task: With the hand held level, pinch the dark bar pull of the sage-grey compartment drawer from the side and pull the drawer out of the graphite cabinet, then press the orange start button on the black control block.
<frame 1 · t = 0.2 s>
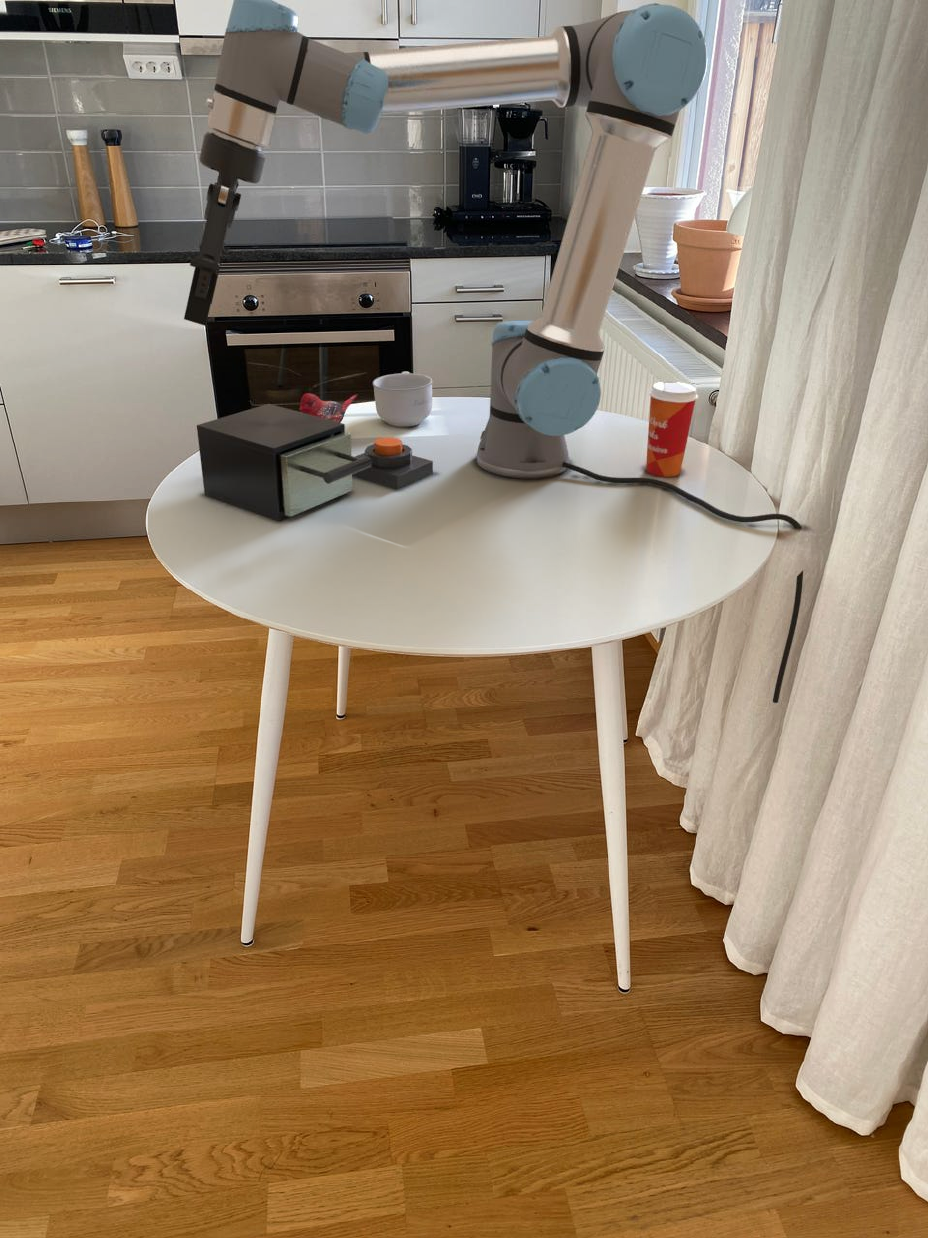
hand: (198, 311, 123), 28 cm above the table, tool tilted 20°, fingers open, 13 cm apart
cabinet: (276, 493, 142), on the table
paper cup: (663, 472, 155), on the table
start button: (388, 446, 148), point 4 cm above the table, slide at 0.1 cm
drawer: (299, 467, 136), point 5 cm above the table, slide at 0.5 cm
decorative bird figurine: (331, 442, 164), on the table
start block: (388, 473, 150), on the table
teacup: (405, 420, 176), on the table
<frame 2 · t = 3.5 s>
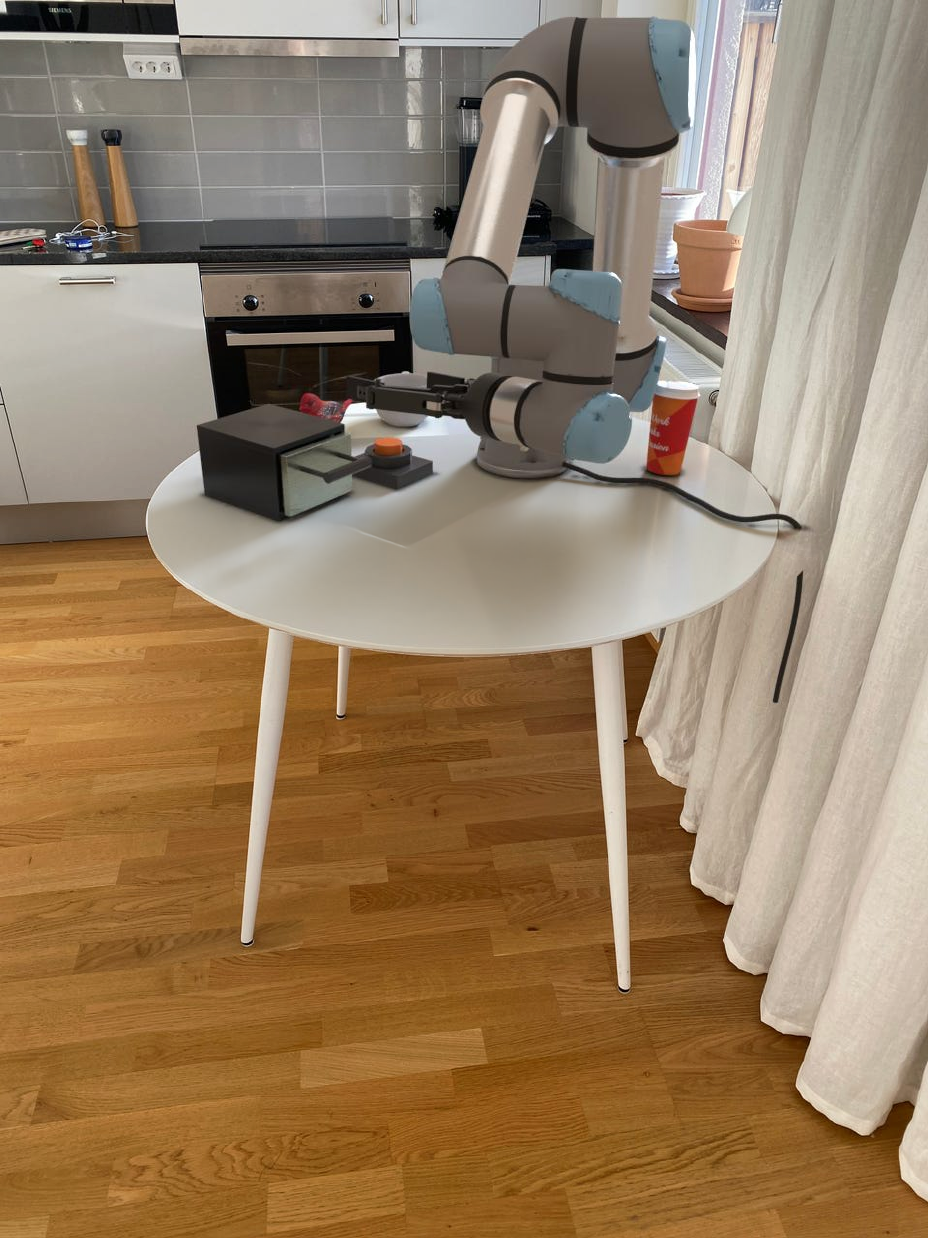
hand: (390, 384, 122), 20 cm above the table, tool horizontal, fingers open, 13 cm apart
nothing on the table moved.
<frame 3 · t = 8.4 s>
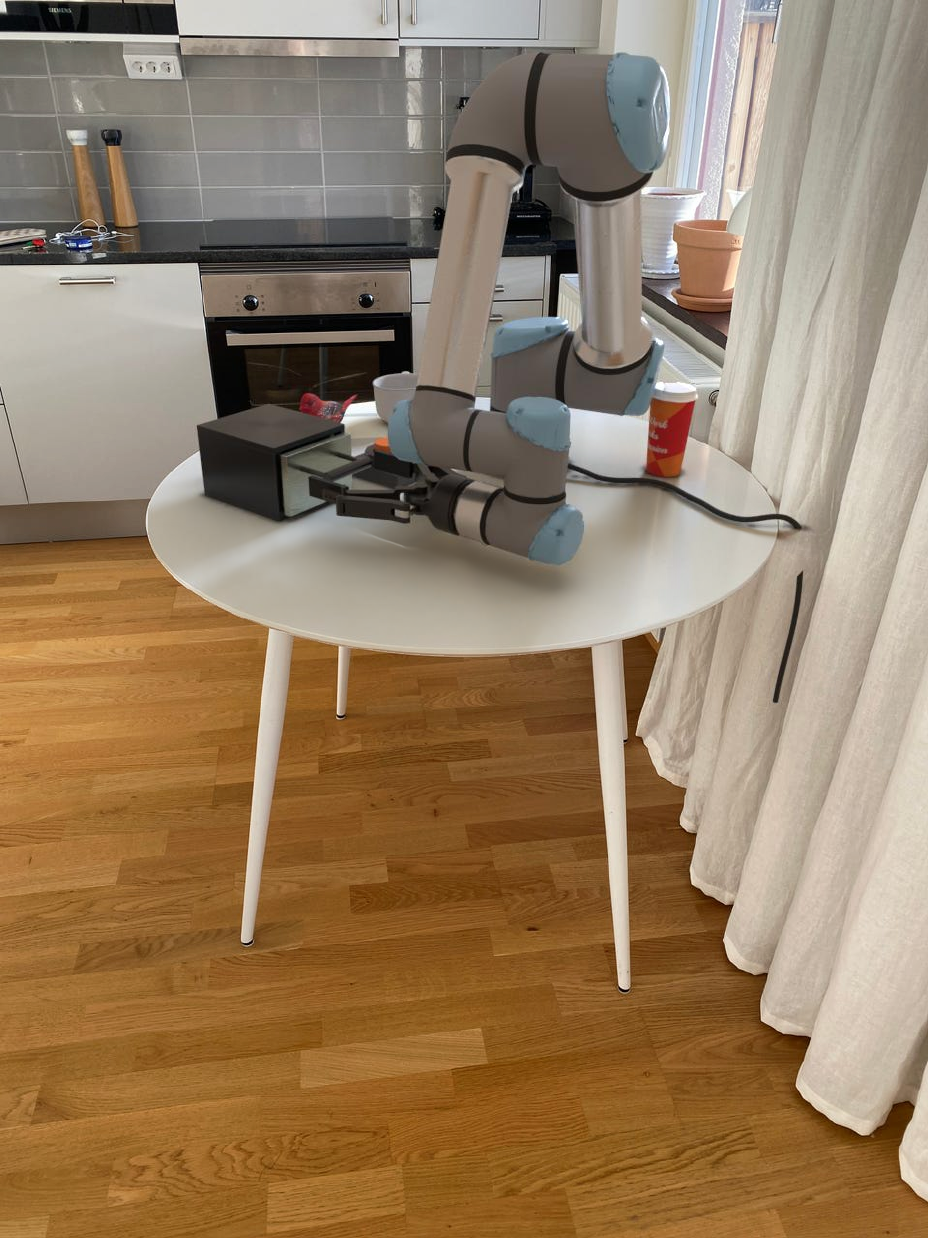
hand: (344, 471, 131), 7 cm above the table, tool horizontal, fingers open, 13 cm apart
nothing on the table moved.
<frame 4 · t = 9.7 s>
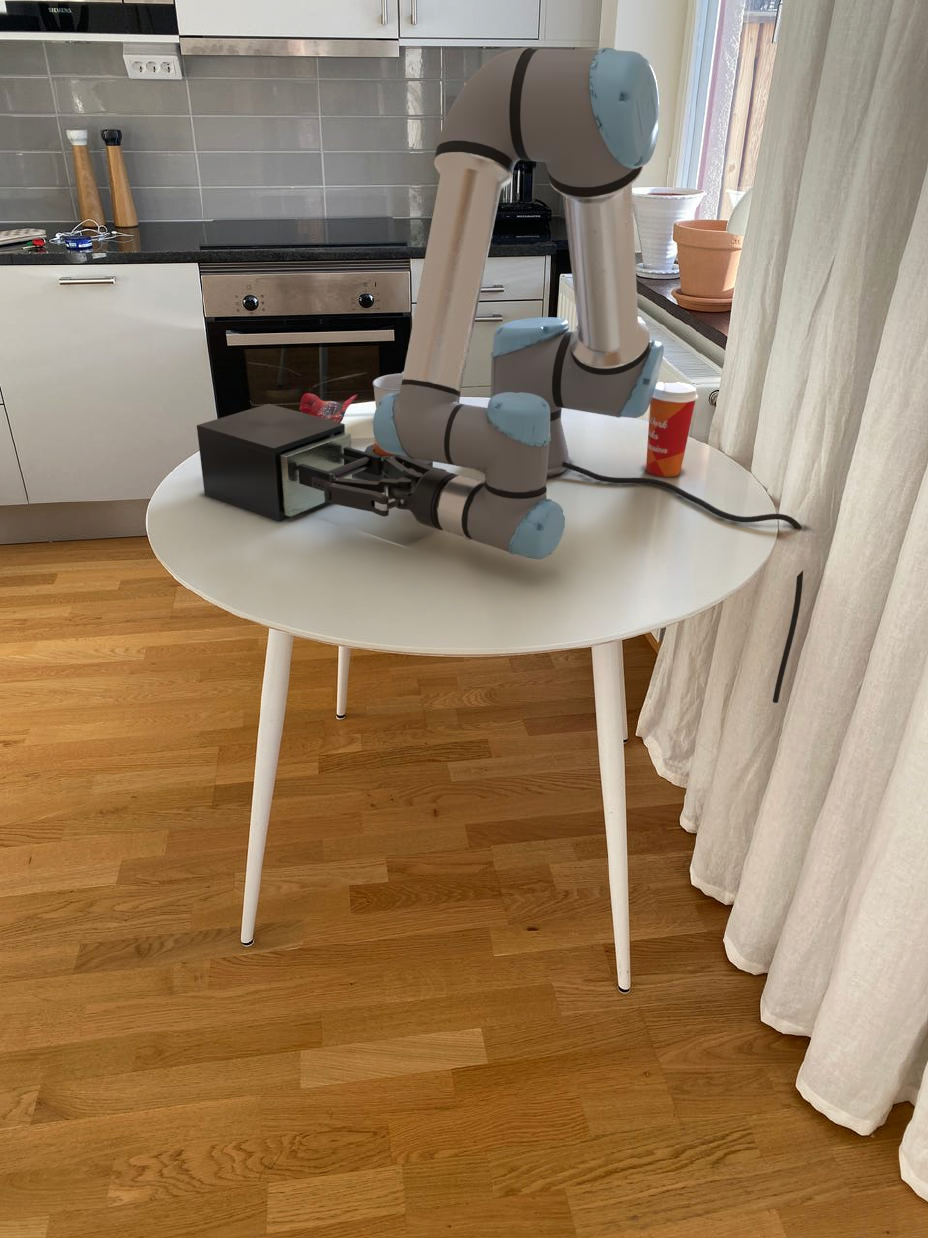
hand: (323, 464, 133), 7 cm above the table, tool horizontal, fingers closed on drawer, 8 cm apart
drawer: (299, 467, 136), point 5 cm above the table, slide at 0.5 cm, touching gripper
everything else where it was.
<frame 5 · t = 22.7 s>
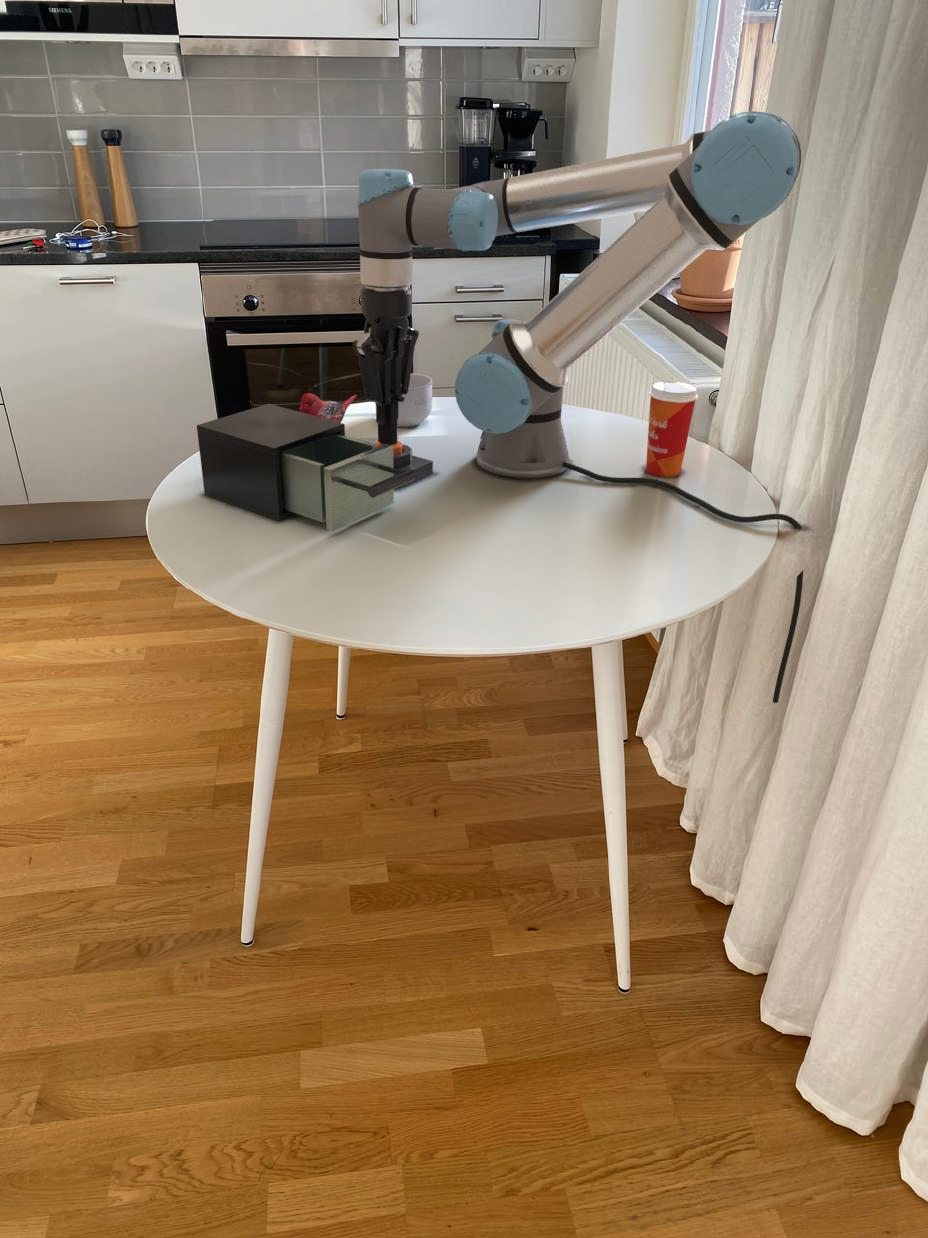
hand: (387, 442, 148), 5 cm above the table, tool pointing down, fingers closed
start button: (388, 449, 148), point 4 cm above the table, slide at -0.3 cm, touching gripper
drawer: (340, 480, 132), point 5 cm above the table, slide at 8.5 cm
everything else where it was.
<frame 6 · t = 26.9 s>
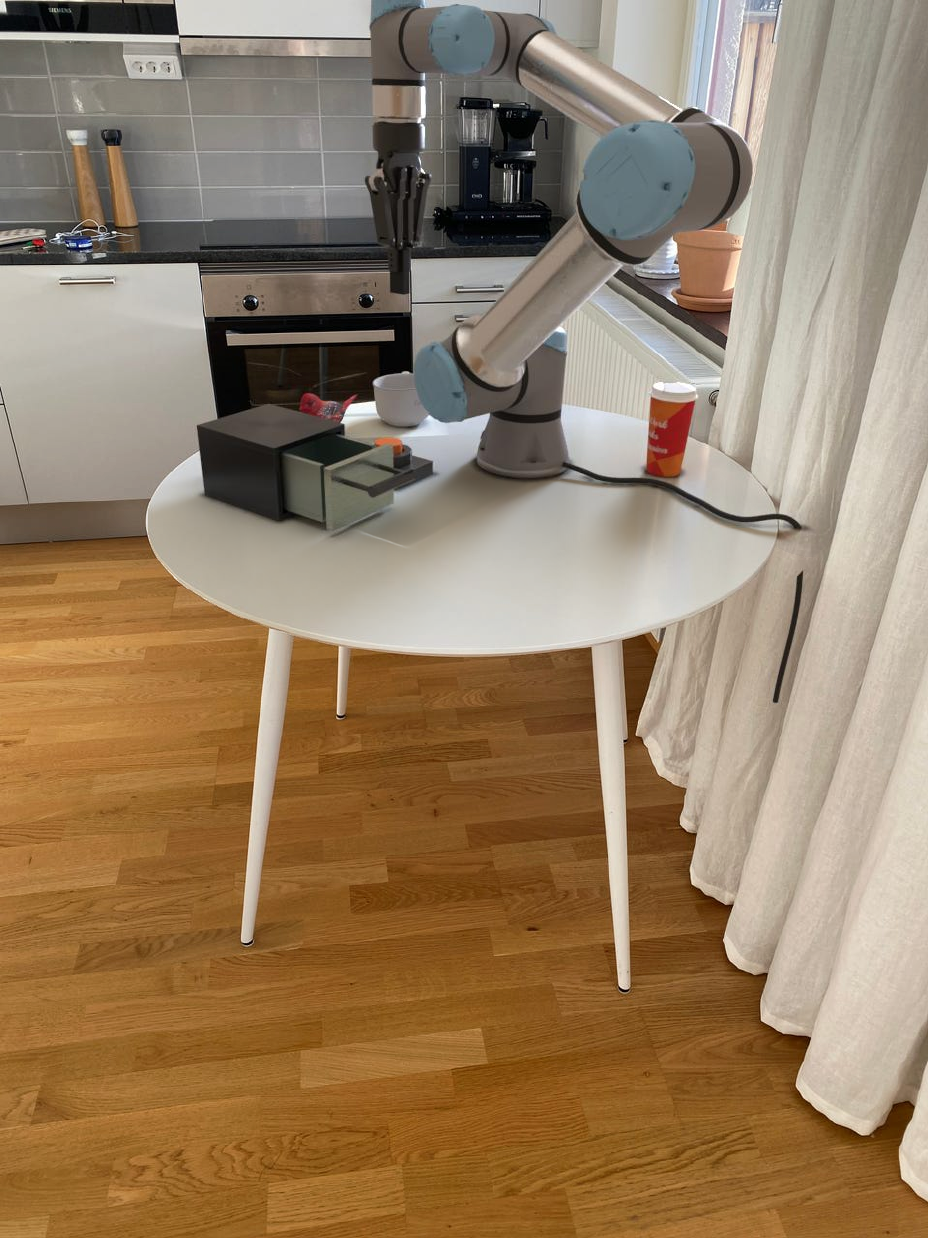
hand: (399, 292, 145), 26 cm above the table, tool pointing down, fingers closed
start button: (388, 446, 148), point 4 cm above the table, slide at 0.1 cm
everything else where it was.
at the end: drawer slide at 8.5 cm; start button pushed in 0.7 cm at the most during the clip, back to where it started at the end; start button slide at 0.1 cm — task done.
